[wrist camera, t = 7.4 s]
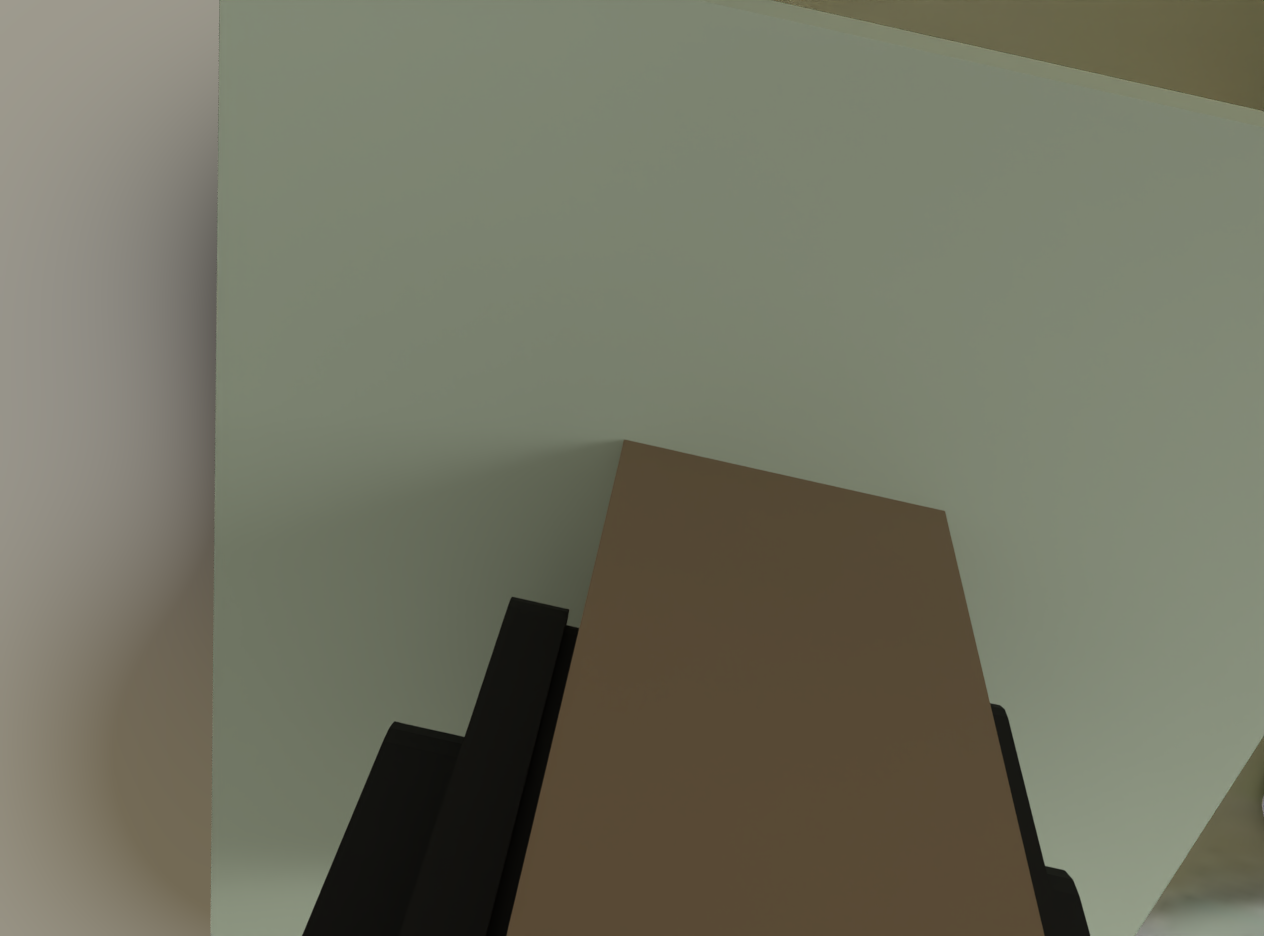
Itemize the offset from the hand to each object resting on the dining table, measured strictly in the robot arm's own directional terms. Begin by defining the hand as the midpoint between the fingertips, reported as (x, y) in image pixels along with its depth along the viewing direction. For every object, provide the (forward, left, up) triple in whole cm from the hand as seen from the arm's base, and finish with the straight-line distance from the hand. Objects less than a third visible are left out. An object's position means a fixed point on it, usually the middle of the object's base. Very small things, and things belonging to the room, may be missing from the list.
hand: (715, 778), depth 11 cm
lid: (0, 0, -2) cm, 2 cm away
